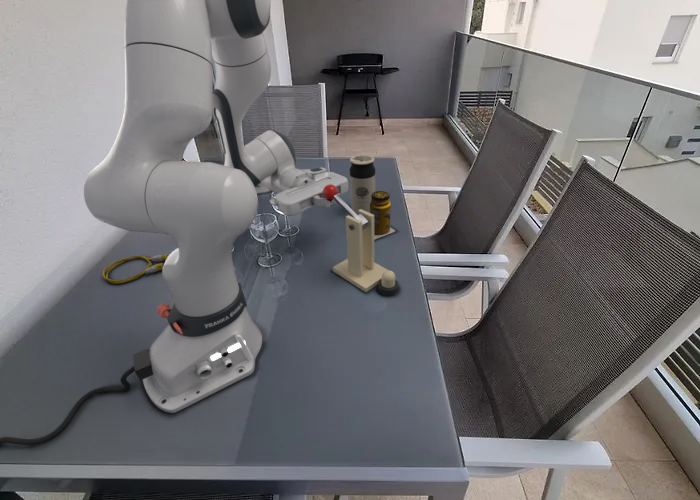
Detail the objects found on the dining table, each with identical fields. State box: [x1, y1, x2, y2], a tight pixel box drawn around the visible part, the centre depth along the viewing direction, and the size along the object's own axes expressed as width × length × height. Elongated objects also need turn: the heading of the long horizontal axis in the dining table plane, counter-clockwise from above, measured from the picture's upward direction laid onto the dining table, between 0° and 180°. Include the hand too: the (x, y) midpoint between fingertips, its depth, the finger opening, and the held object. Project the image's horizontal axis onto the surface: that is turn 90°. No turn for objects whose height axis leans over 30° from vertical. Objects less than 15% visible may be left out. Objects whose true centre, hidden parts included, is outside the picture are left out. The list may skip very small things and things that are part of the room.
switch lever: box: [323, 184, 369, 230], centre depth 82 cm, size 14×4×4 cm, turn 44°
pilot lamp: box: [377, 269, 399, 297], centre depth 82 cm, size 5×5×5 cm
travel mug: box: [349, 154, 376, 215], centre depth 111 cm, size 8×8×18 cm
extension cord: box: [102, 254, 170, 285], centre depth 93 cm, size 12×16×2 cm
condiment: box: [370, 190, 396, 241], centre depth 102 cm, size 7×8×12 cm
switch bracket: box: [332, 209, 388, 293], centre depth 84 cm, size 12×9×17 cm
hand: (333, 203), depth 85 cm, fingers closed, pressing on switch lever
